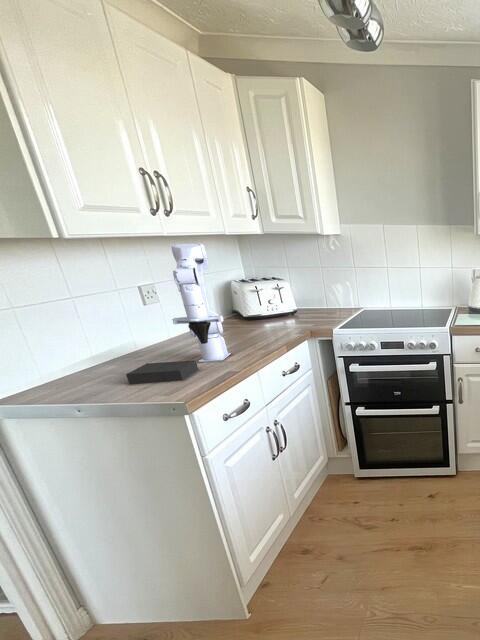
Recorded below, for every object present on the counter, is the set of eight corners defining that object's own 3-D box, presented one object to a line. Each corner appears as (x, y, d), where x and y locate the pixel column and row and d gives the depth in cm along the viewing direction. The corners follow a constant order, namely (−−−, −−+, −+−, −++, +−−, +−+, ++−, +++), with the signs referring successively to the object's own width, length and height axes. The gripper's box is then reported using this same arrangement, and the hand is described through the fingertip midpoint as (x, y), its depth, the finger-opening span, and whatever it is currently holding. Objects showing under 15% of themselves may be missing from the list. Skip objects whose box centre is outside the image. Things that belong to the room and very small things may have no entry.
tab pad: (173, 371, 146) (170, 361, 145) (198, 369, 148) (195, 360, 147) (155, 382, 135) (152, 372, 134) (182, 380, 137) (179, 370, 136)
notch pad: (149, 372, 145) (146, 363, 144) (182, 370, 147) (179, 361, 146) (129, 384, 134) (125, 374, 133) (165, 381, 136) (162, 371, 135)
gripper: (163, 307, 136) (175, 347, 141) (213, 305, 139) (223, 344, 144) (174, 304, 142) (185, 342, 147) (221, 302, 146) (230, 339, 150)
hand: (204, 343), depth 146 cm, fingers closed
